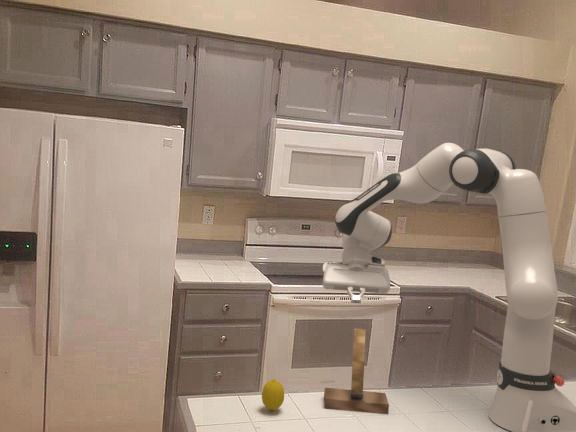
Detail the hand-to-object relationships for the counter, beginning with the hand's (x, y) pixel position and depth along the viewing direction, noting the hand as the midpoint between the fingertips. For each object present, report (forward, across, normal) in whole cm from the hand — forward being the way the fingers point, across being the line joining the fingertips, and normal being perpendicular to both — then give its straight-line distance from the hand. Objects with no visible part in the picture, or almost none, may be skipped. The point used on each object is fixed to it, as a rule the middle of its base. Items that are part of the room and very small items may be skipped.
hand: (356, 302), depth 154 cm
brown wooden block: (+30, 0, +1) cm, 30 cm away
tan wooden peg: (+29, 0, -3) cm, 29 cm away
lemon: (+36, -21, -4) cm, 42 cm away
